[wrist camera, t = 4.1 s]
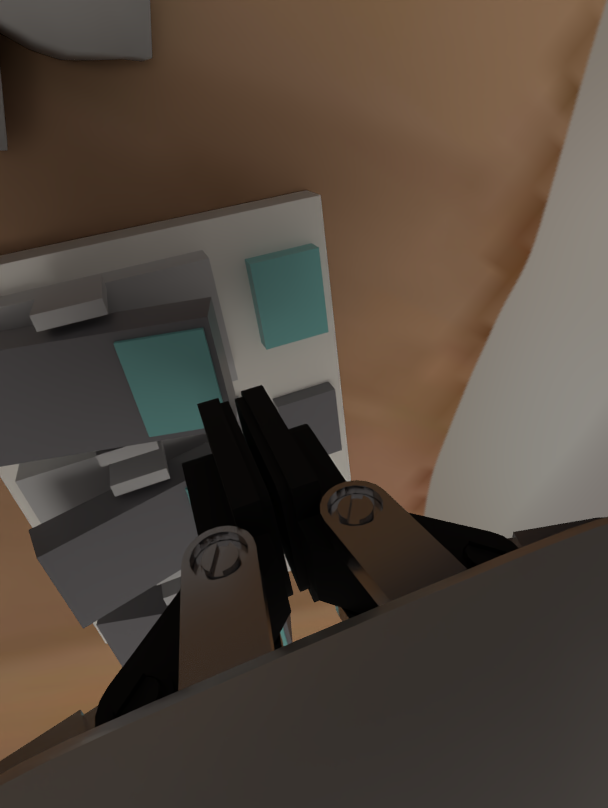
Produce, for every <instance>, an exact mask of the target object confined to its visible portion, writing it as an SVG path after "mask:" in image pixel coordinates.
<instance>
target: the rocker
mask: <svg viewBox="0 0 608 808" xmlns="http://www.w3.org/2000/svg"><path fill="white" fill-rule="evenodd" d="M167 607H168V605H166V603H165V601H164V599H163V593H162V586H161V584H160V585H157V584H156V585H155V586H153V587H151V588H150V589H148V590H146V591H145V592H143V593H141V594H140V595H138V596H136V597H135V598H133V599H132V600H130V601H128V602H127V603H125V604H123V605H122V606H120V607H118V608H117V609H115V610H113V611H112V612H110V613H108V614H107V615H105V616H103V617H102V618H100V619H98V620H97V624H96V625H97V627H98V629H99V630H100V632H101V633H102V635H103V637H104V638H105V640H106V641H107V643H108V645H109V646H110V648H111V649H112V651H113V652H114V654H115V656H116V657H117V659H118V660H119V662H120V664H121V665H122V667H123V666H124V665H125V663H126V662H127V661H128V659H129V658H130V656H131V655H132V654H133V652H134V651H135V650H136V648H137V647H138V646H139V644H140V643H141V642H142V640H143V639H144V638H145V636H146V635H147V634H148V632H149V631H150V630H151V628H152V627H153V625H154V624H155V623H156V621H157V620H158V619H159V617H160V616H161V615H162V613H163V612H164V611H165V609H166V608H167ZM280 633H281V637H282V641H283V646H285V645H288V644H290V643H292V630H291V617H290V615H289V617H288V619H287V621H286V623H285V624H284V626H283V628H282V630H281V632H280Z"/></svg>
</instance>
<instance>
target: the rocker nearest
mask: <svg viewBox="0 0 608 808" xmlns="http://www.w3.org/2000/svg"><path fill="white" fill-rule="evenodd" d="M216 398H219V401H220V403H222V402H226V401H229V404H230V406H231V408H232V410H233V413H234V415H235V417H236V419H237V408H236V404H235V399H236V395H235V391H234V387H233V383H232V379H231V375H230V371H229V366H228V362H227V358H226V354H225V350H224V346H223V342H222V338H221V334H220V330H219V326H218V322H217V318H216V314H215V310H214V306H213V302H212V298H211V297H207V298H201V299H194V300H188V301H182V302H176V303H170V304H163V305H157V306H151V307H145V308H139V309H132V310H126V311H120V312H114V313H108V314H107V315H103V316H99V317H95V318H91V319H87V320H83V321H79V322H75V323H71V324H67V325H63V326H59V327H55V328H51V329H47V330H43V331H39V332H37V331H36V329H35V327H34V325H33V326H27V327H21V328H14V329H8V330H2V331H0V467H2V466H8V465H14V464H20V463H26V462H32V461H38V460H45V459H51V458H57V457H63V456H69V455H75V454H81V453H88V452H94V451H100V450H106V449H112V448H118V447H124V446H131V445H137V444H143V443H149V442H155V441H161V440H167V439H174V438H180V437H186V436H192V435H198V434H204V433H206V432H205V429H204V426H203V422H202V419H201V416H200V413H199V409H198V406H197V404H199V403H202V402H205V401H209V400H212V399H216Z"/></svg>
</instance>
